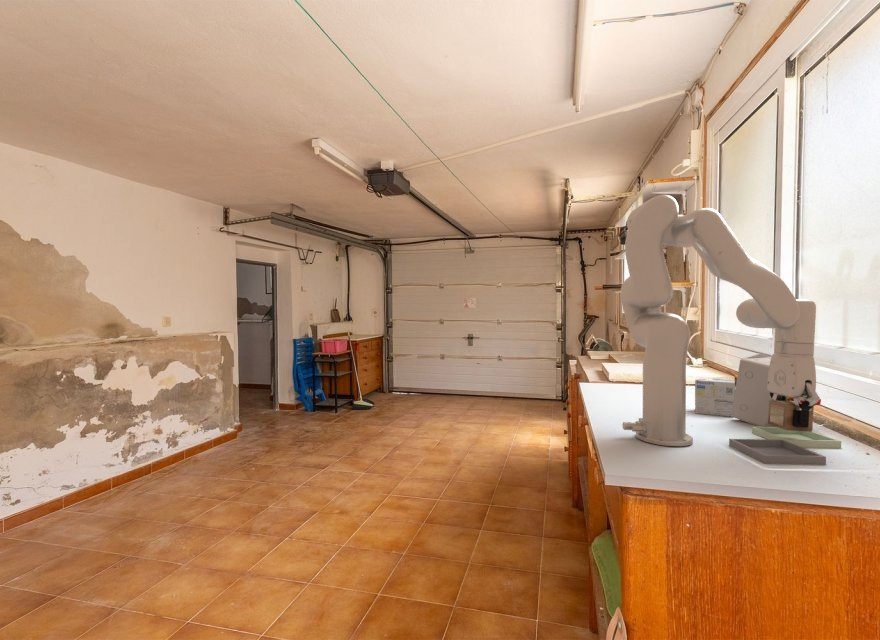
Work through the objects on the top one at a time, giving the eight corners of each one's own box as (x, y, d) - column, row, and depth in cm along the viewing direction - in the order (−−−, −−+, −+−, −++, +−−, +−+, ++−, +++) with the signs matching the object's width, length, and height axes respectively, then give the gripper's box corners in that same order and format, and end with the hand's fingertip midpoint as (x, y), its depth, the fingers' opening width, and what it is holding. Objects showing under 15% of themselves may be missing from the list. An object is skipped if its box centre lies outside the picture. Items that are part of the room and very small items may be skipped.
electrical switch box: (786, 442, 111) (800, 367, 108) (729, 420, 125) (740, 354, 122) (820, 436, 117) (834, 365, 114) (762, 416, 130) (773, 352, 127)
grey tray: (764, 465, 88) (764, 455, 88) (729, 447, 100) (729, 438, 100) (825, 466, 88) (826, 456, 88) (782, 448, 100) (782, 439, 99)
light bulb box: (734, 413, 135) (735, 379, 134) (735, 417, 129) (736, 382, 129) (695, 409, 140) (695, 376, 140) (694, 413, 135) (694, 379, 135)
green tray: (786, 448, 99) (786, 440, 99) (752, 434, 111) (752, 426, 111) (841, 449, 98) (841, 441, 98) (800, 435, 110) (800, 427, 110)
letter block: (785, 430, 102) (786, 404, 102) (767, 423, 108) (768, 399, 108) (812, 431, 101) (813, 405, 101) (793, 425, 107) (794, 400, 107)
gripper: (753, 346, 113) (750, 414, 113) (805, 352, 96) (801, 432, 96) (783, 347, 113) (780, 415, 113) (840, 353, 95) (836, 434, 96)
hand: (789, 422), depth 105 cm, fingers closed on letter block, 6 cm apart
